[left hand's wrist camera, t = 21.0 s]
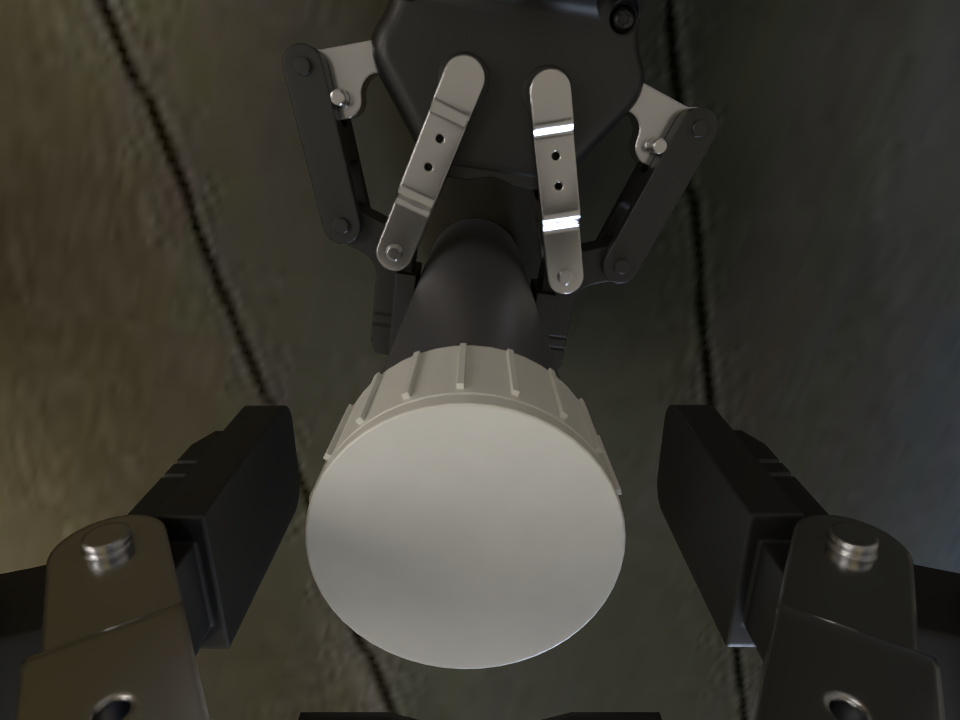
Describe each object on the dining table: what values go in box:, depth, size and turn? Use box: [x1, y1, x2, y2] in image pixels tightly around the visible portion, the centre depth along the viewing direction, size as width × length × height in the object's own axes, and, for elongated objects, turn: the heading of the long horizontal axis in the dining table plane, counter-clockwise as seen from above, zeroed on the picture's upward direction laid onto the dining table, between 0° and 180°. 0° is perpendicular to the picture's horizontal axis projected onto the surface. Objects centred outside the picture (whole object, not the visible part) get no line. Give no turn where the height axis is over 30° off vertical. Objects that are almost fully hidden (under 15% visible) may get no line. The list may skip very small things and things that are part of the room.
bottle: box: [382, 218, 560, 379], centre depth 19 cm, size 4×4×20 cm
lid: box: [305, 343, 626, 669], centre depth 10 cm, size 5×5×2 cm
